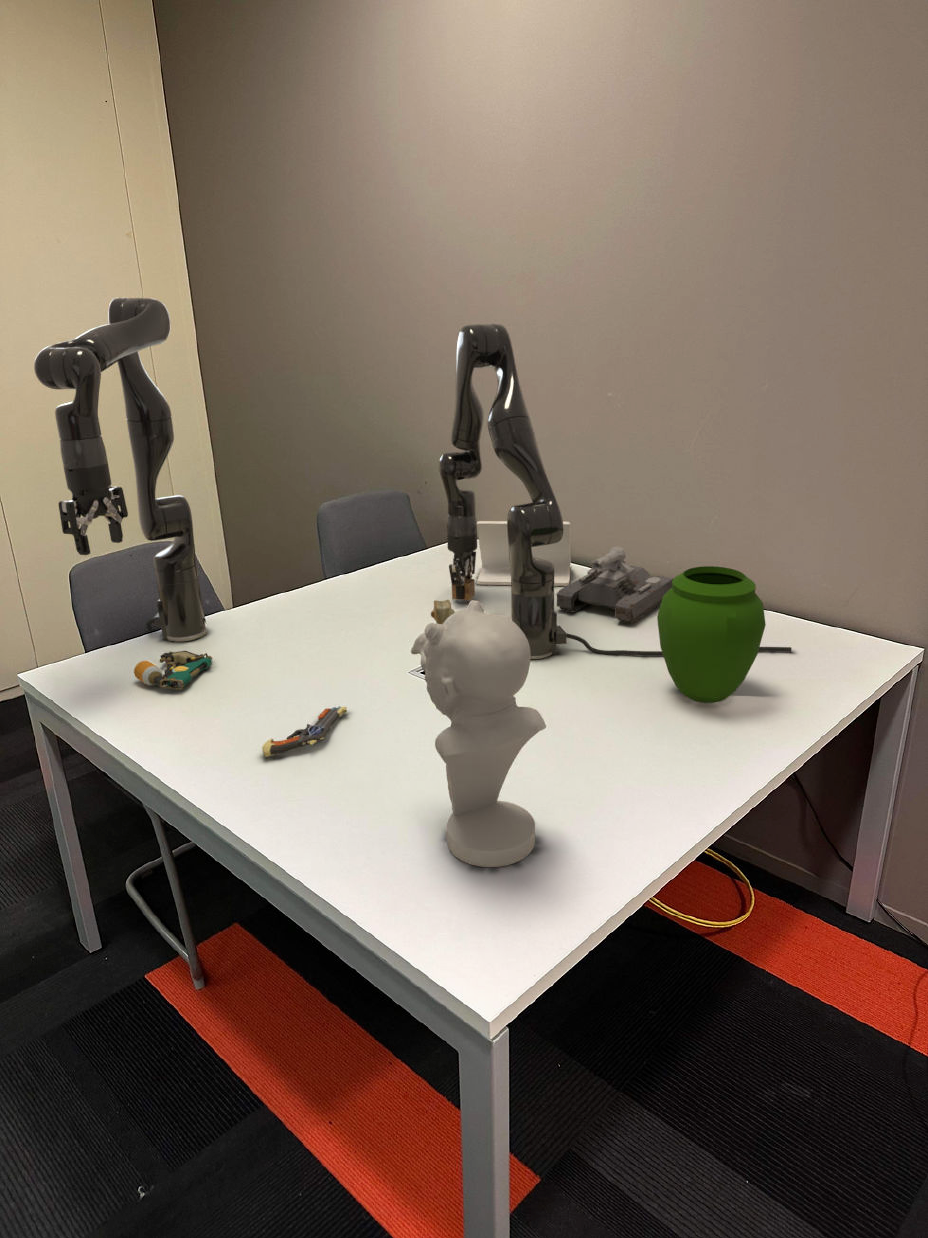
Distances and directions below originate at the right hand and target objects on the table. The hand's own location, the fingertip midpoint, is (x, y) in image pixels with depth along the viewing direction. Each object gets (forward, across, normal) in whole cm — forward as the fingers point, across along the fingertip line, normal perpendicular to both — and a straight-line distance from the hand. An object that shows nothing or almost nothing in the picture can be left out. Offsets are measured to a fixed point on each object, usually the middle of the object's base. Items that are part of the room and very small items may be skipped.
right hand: (463, 595), depth 220 cm
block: (0, 0, 0) cm, 0 cm away
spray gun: (+2, +61, -42) cm, 74 cm away
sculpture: (+1, +42, +12) cm, 44 cm away
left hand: (-30, +73, -45) cm, 91 cm away
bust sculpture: (+1, +95, +36) cm, 102 cm away
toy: (+2, -8, +38) cm, 39 cm away
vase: (+1, +39, +64) cm, 75 cm away
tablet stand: (+2, -25, +9) cm, 26 cm away
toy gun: (+1, +76, -2) cm, 76 cm away
